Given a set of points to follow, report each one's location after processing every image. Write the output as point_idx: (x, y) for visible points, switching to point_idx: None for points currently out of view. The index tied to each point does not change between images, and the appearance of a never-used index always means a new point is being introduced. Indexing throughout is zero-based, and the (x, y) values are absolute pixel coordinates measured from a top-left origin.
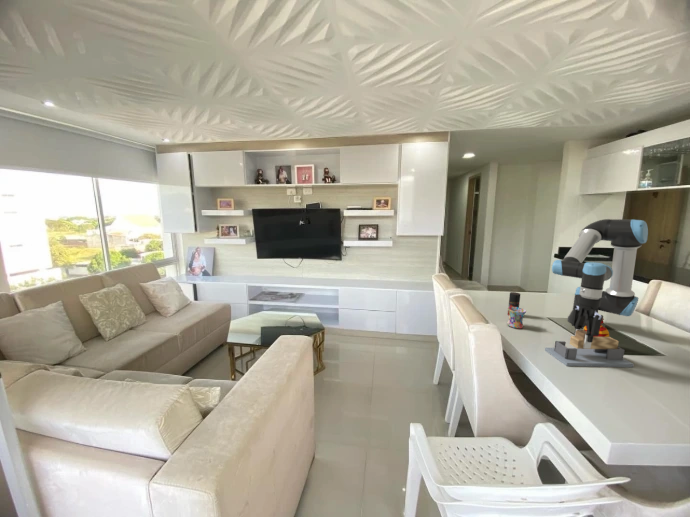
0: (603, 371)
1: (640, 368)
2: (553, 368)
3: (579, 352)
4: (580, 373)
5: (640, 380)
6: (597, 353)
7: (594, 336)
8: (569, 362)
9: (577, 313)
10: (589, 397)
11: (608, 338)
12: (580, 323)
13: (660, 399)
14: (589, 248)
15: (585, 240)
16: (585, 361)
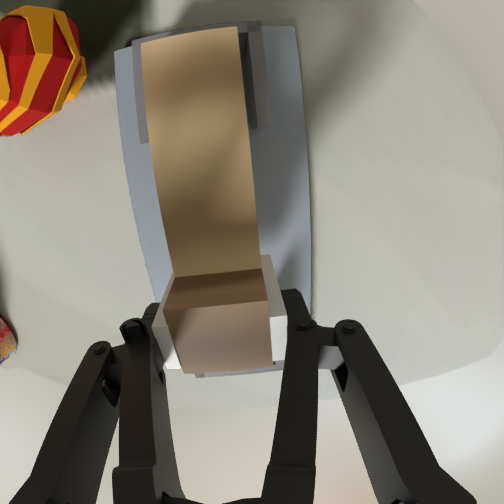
0: (346, 213)
1: (297, 10)
2: (321, 373)
3: None
4: (356, 313)
5: (403, 110)
6: None
7: (54, 95)
8: None
9: (87, 480)
10: (441, 343)
11: (180, 73)
12: (161, 404)
13: (480, 164)
14: None
15: None
16: (294, 263)
